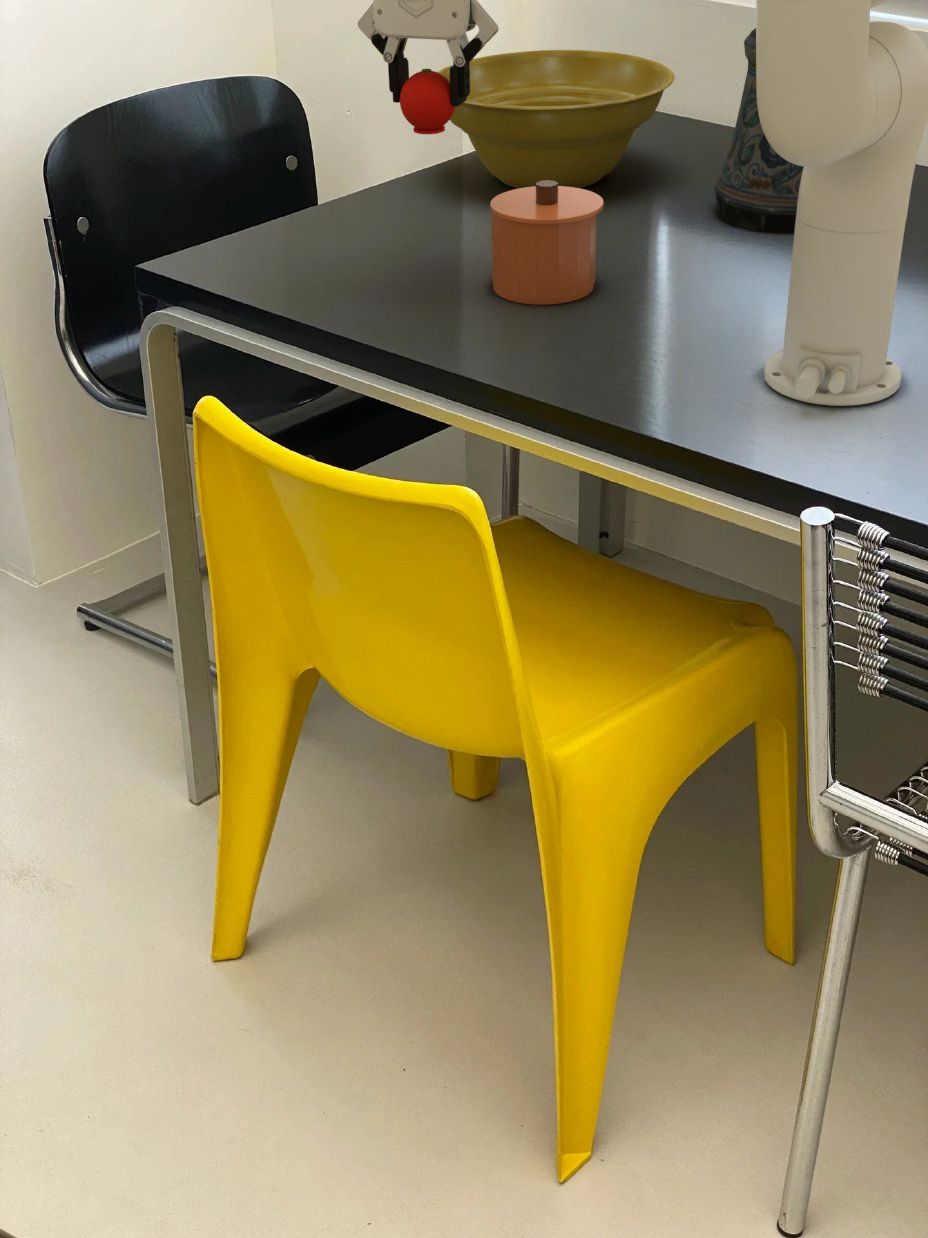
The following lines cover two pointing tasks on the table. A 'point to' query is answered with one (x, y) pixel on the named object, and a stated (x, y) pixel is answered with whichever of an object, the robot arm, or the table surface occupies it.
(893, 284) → the robot arm
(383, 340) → the table surface
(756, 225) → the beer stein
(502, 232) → the pot
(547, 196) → the pot lid
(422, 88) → the tomato
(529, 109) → the planter bowl
